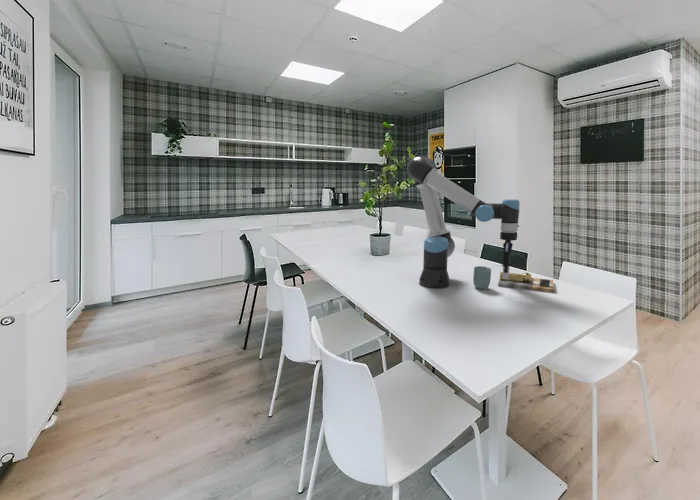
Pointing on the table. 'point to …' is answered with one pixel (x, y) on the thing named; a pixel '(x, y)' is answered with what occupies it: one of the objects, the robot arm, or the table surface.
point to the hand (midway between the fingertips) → (505, 278)
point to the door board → (529, 284)
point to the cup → (482, 277)
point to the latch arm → (518, 277)
